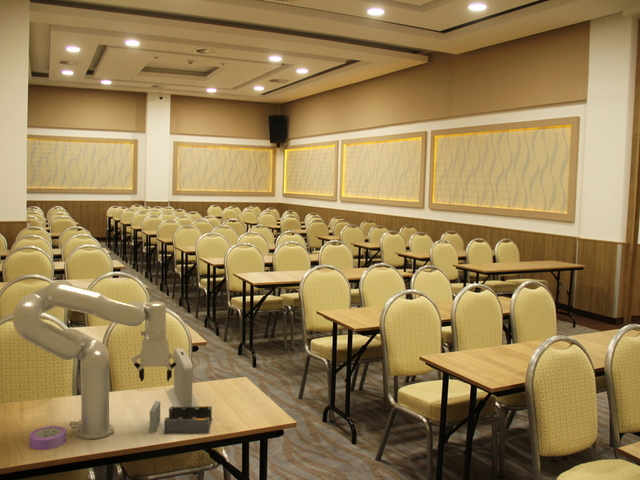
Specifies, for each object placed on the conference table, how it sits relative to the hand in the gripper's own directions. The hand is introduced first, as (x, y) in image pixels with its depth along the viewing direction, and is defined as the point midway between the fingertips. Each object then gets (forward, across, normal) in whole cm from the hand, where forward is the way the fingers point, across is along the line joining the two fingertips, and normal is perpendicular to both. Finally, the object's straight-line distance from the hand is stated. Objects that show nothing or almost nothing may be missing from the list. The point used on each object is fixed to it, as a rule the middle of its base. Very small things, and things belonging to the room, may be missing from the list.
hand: (155, 379), depth 226 cm
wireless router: (+18, +6, +29) cm, 35 cm away
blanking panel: (+18, 0, 0) cm, 18 cm away
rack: (+18, +12, 0) cm, 22 cm away
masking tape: (+18, -35, -13) cm, 41 cm away
